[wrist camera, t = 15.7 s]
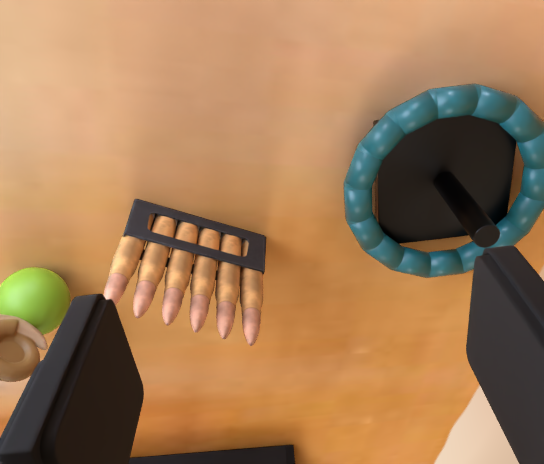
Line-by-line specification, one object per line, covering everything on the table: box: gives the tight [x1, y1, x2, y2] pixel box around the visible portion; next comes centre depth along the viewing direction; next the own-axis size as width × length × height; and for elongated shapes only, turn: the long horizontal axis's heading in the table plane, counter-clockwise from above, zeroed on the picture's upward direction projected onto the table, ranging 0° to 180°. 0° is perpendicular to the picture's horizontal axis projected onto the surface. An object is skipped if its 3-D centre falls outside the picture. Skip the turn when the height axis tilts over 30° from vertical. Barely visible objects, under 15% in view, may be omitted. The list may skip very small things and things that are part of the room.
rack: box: [373, 115, 516, 248], centre depth 35 cm, size 10×10×9 cm
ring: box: [344, 84, 544, 278], centre depth 38 cm, size 15×15×2 cm
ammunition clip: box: [104, 199, 266, 346], centre depth 36 cm, size 11×2×12 cm, turn 71°
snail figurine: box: [0, 267, 71, 382], centre depth 38 cm, size 5×6×12 cm
